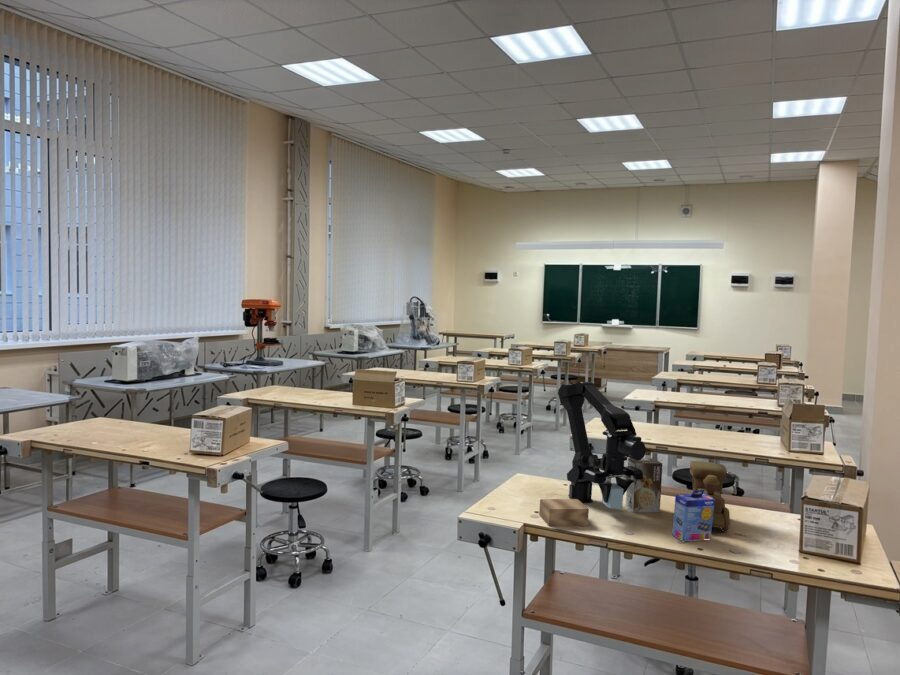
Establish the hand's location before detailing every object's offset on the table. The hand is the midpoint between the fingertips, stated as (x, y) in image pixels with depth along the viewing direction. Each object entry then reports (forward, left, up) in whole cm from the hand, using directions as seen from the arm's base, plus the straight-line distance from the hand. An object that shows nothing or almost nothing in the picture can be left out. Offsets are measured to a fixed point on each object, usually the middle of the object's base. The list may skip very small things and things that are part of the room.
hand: (612, 501), depth 193 cm
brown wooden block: (+17, +4, -4) cm, 18 cm away
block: (0, 0, -1) cm, 1 cm away
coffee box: (-13, -5, -4) cm, 15 cm away
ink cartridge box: (-16, +19, -5) cm, 25 cm away
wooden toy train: (-28, +7, -5) cm, 29 cm away
